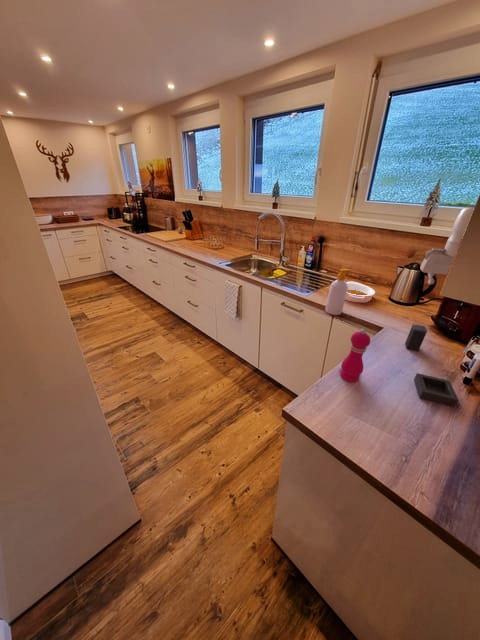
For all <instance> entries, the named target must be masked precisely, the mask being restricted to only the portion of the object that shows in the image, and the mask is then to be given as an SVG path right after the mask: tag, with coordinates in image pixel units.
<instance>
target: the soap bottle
mask: <svg viewBox="0 0 480 640" xmlns="http://www.w3.org/2000/svg"><path fill="white" fill-rule="evenodd" d="M345 272H354V269H350V268H348V269H346V268H340V272H339V273H338V274H337V277H336V279H335V280H333V282H331V284H330V286H329V290H328V295H327V299H326V304H325V308H324V310H325V312H326V314H329V315H332V316H340V315H342V313H343V309H344V304H345V301H346V300H345V297H346V293H347V289H348V286H347V284H346V283H347V281H345V279H346V273H345Z"/></svg>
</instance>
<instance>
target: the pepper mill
mask: <svg viewBox="0 0 480 640" xmlns="http://www.w3.org/2000/svg"><path fill="white" fill-rule="evenodd" d="M350 342H351V343H350V345H349V348H350V352H349V354H348V355H347V356H346V357H345V358H344V359H343V360H342V362H341V369H340V377H341V378H342V379H343V380H344V381H346V382H349V383H357V382H358V381H359V379H360V375H362V373H363V372H364V362H363V361H364V360H363V354H364V353H366V350H367V348H368V347H369V346H370V344H371V337H370V335H369V334H368V333H367V330H366V329H365V328H361V329H360V330H359V331H356V332H354V333H352V335H351V336H350Z"/></svg>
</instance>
